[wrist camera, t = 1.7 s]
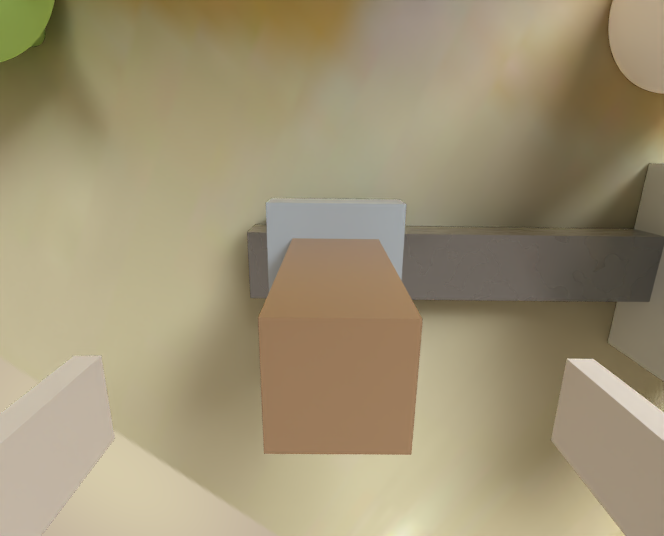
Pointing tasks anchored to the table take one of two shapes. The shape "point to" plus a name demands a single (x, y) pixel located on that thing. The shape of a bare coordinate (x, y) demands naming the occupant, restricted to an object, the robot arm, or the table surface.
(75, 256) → the table surface
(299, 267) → the carriage
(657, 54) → the cup
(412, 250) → the rail
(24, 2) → the teapot
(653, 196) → the cabinet
